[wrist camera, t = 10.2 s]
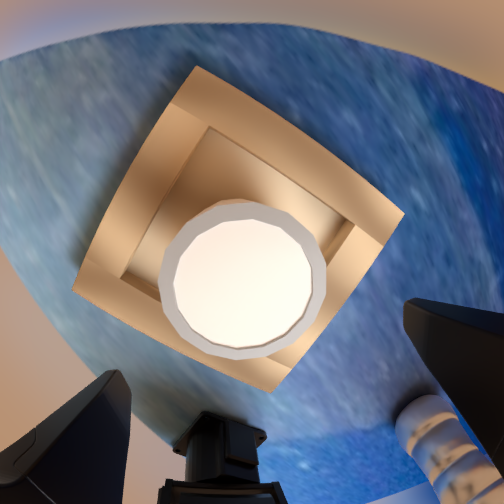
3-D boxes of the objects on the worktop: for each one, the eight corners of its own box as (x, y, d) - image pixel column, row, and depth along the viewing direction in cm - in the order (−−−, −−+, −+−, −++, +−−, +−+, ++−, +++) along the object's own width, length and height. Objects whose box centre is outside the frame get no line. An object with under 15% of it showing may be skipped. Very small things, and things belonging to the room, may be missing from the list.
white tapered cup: (302, 279, 20) (340, 334, 13) (199, 310, 20) (192, 377, 13) (275, 173, 18) (307, 180, 12) (162, 207, 18) (131, 233, 11)
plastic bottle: (432, 375, 26) (547, 513, 7) (443, 406, 28) (534, 524, 9) (380, 414, 26) (471, 572, 7) (397, 439, 28) (472, 570, 9)
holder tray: (265, 372, 23) (270, 393, 21) (85, 276, 20) (71, 289, 17) (385, 207, 21) (404, 213, 18) (198, 77, 17) (196, 65, 15)
